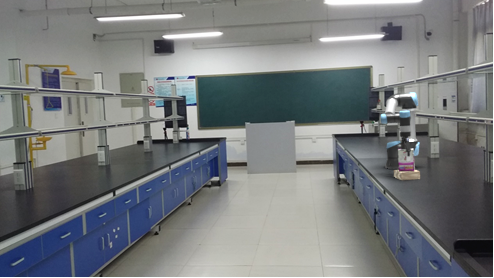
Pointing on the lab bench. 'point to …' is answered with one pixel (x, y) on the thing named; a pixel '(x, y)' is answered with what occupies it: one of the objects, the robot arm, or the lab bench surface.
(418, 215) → the lab bench surface
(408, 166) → the candy bar box
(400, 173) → the birch block
